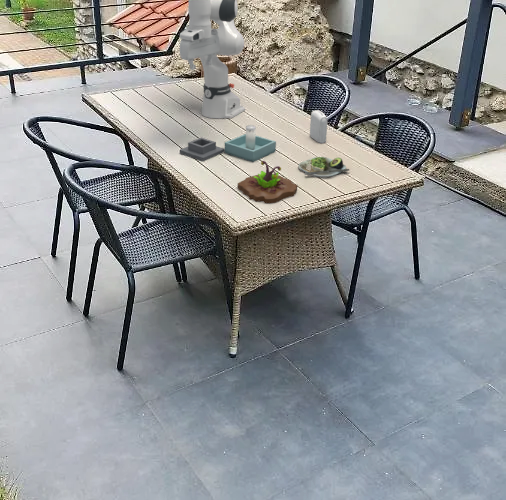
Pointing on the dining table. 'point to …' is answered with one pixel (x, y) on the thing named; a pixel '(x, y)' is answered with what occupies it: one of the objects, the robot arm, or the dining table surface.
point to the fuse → (250, 137)
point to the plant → (267, 186)
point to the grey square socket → (201, 149)
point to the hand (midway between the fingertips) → (200, 67)
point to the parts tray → (239, 149)
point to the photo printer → (318, 126)
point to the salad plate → (323, 167)
